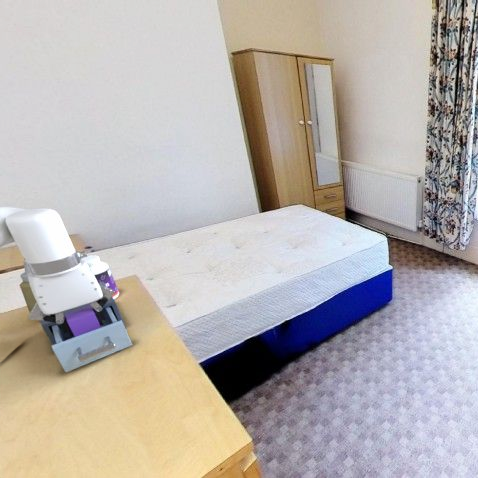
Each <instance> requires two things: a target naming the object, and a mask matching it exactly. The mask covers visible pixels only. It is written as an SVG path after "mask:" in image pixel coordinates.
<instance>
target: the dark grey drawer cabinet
mask: <svg viewBox="0 0 478 478" xmlns="http://www.w3.org/2000/svg"><path fill="white" fill-rule="evenodd" d="M98 284H100V285H103V286H105V287H106V285H105V284H104V282H100V283H98ZM102 294H103V295H104V294H105V293H103V292H102ZM97 301H98V300H97ZM36 302H37V301H36ZM89 306H91V305H90V304H89V303H88V304H85V305H82V306H79V307H75V308H72V309H69V310H66V311H63V315H64V317H65V314H67V313H70V312H73V311H76V310H79V309H82V308H86V307H89ZM91 307H92V306H91ZM105 307H110V309H111V311H112V312H113V314H114V316H115V318H116V320H117V322H118V321H121V320H122V322H123V324H124V327H125V329H126V330H127V327H126V324H125V321H124V319H123V317H122V315H121V312H120V309H119V308H118V304H117V303H116V301H115V299H113V297H111V298H110V299H108V301H107V302H106V304H105V305H104V306H103V308H105ZM92 309H93V307H92ZM41 313H43V312H42V311H41ZM43 314H44V313H43ZM65 318H66V317H65ZM39 321H40V325H41V327H42V329H43V331H44V333H45V334H46V336H47V338H48V340H49V341H50V343H51V346H52V345H55V344H57V343H56V340H55V337H54V333H53V329H52V325H54V324H57V323H53V322H48V321H44V320H39Z"/></svg>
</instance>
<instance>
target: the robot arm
mask: <svg viewBox="0 0 478 478" xmlns="http://www.w3.org/2000/svg"><path fill="white" fill-rule="evenodd" d="M13 243H15V245H16V246H17V248H18V250H19V252H20V253H21V255H22V257H23V259H24V261H26V263H27V265H28V267H29V269H30V271H31V272H30V273H29V274H28V280H29V284H30V287H31V290H32V292H33V295H34V297H35V299H36V301H37V302H36V304H35V306H34V307H33V309H32V311H31V313H30V312H29V314H28V319H29V320H30V321H40V320H44V321H48V322H53V323H57V324H59V325H60V327H61V329H62V330H63V332H64V334H65V333H67V332H68V333H69V335H70V337H71V336H73V335H74V334H73V332H72V330H71V329H70V327H69V325H68V323H67V320H66V318H65V317H64V315H63V311H66V310H69V309H72V308H75V307H79V306H82V305H85V304H88V303H89V304H90V305H91V306H92V307H93V311H94V314H95V316H96V318H97V320H98V322H99V324H100V325H104V324H103V322H102V320H105V317H104V315H103V313H102V308H103V306H104V305H105V304H106V302H107V301H108V299H110V298H111V297H112V296H113V295H114V294H115V292H114V290H112V289H110V288H108V287H105V286H103V285H100V284H98V282H97V280H96V278H95V276H94V274H93V272H92V270H91V269H90V267H89V266H88V265H87V263H86V262H85V261H84V260H81V259H82V258H84V257H87V256H88V255H87V253H86V251H78V250H77V251H76V249H75V246H74V245H73V242H72V240H71V238H70V236H69V233H68V231H67V228H66V227H65V224H64V222H63V220H62V218H61V216H60V214H59V213H58V212H57V211H56V210H54V209H52V208H46V207H45V208H43V207H42V208H41V207H39V208H31V209H27V208H20V207H13V206H0V248H1V247H4V246H6V245H10V244H13ZM102 292H103V293H105V294H104V295H103V294H102ZM97 300H98V301H97ZM41 311H42V312H43V313H44V314H43V313H41Z"/></svg>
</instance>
